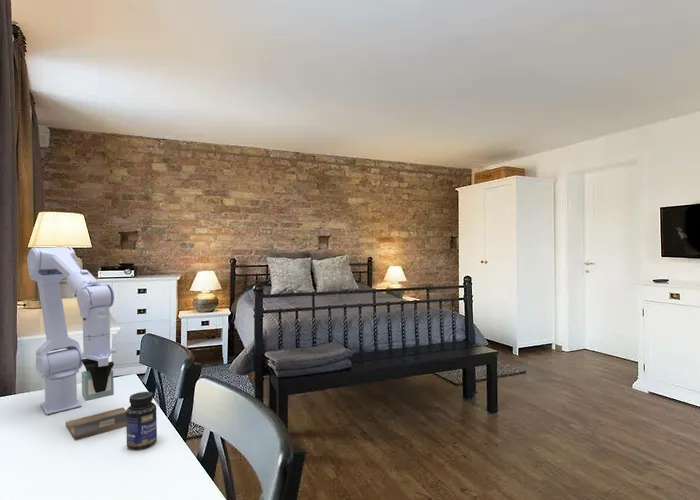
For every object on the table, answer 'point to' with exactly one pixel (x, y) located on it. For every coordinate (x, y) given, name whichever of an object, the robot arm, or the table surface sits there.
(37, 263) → the robot arm
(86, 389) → the carton
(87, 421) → the shelf board
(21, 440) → the table surface
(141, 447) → the pill bottle
